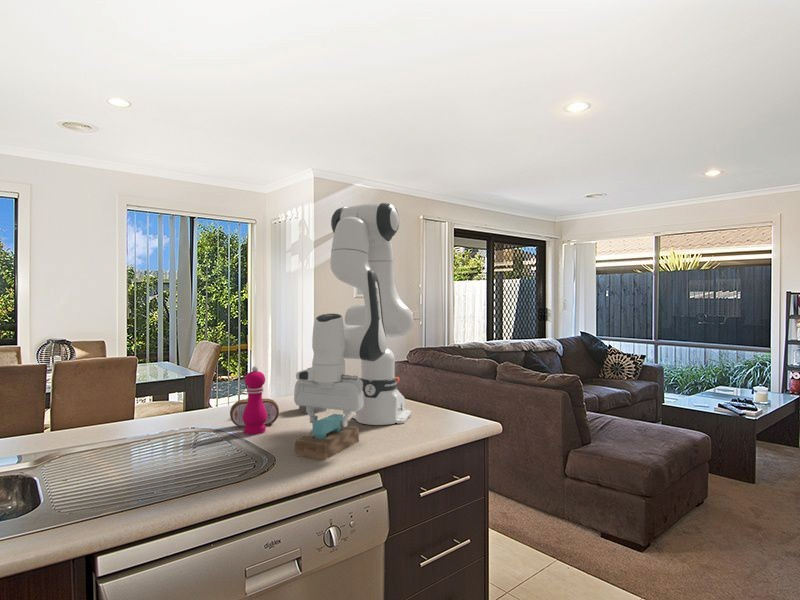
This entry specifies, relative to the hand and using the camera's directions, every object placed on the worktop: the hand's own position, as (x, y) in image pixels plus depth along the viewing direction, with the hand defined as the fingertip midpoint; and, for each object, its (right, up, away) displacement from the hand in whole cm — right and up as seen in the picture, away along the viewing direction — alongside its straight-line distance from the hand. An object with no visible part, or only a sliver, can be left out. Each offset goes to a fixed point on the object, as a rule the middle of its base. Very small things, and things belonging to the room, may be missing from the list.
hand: (328, 424), depth 136 cm
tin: (-27, -7, +24) cm, 36 cm away
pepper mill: (-25, -6, +16) cm, 30 cm away
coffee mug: (-13, -6, +45) cm, 47 cm away
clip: (0, -6, 0) cm, 6 cm away
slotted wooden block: (0, -6, 0) cm, 6 cm away
